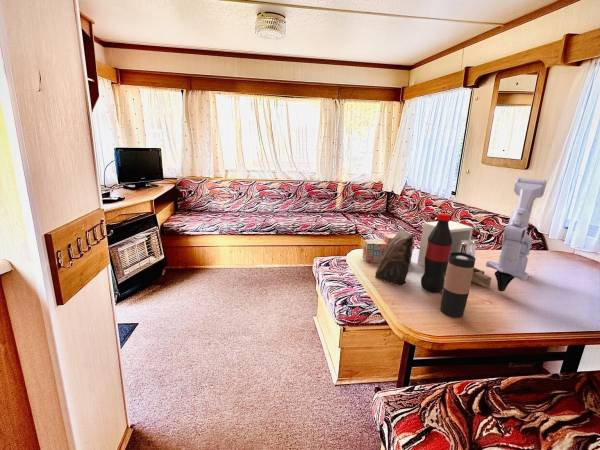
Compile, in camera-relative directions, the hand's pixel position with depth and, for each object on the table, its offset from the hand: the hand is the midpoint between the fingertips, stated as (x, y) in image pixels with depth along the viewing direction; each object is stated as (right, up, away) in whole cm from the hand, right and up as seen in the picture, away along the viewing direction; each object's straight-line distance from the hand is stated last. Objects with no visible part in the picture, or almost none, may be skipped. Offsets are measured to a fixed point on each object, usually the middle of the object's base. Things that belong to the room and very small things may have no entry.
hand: (501, 290), depth 122 cm
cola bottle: (-26, 0, +1) cm, 26 cm away
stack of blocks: (-36, +8, +29) cm, 47 cm away
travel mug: (-26, -4, -15) cm, 31 cm away
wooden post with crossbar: (-6, +3, +13) cm, 15 cm away
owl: (-40, +3, +9) cm, 41 cm away
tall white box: (-12, +6, +25) cm, 28 cm away
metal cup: (-8, +3, +15) cm, 18 cm away
